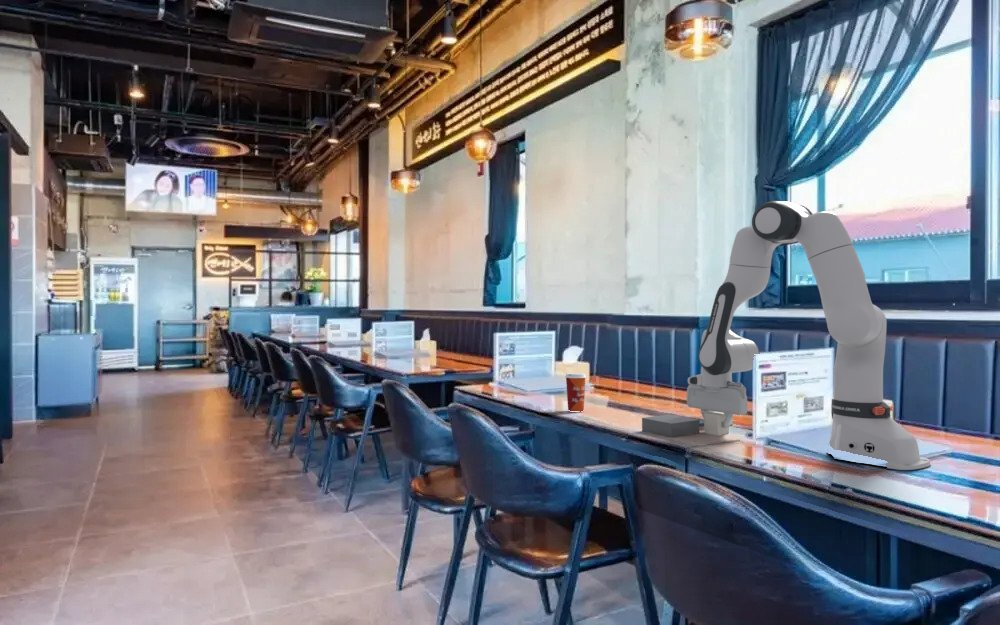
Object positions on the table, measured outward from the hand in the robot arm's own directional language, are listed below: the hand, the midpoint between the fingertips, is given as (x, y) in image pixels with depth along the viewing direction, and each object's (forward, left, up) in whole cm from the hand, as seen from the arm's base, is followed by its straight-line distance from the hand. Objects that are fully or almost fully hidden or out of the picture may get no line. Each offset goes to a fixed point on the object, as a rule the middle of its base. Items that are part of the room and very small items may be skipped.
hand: (716, 426), depth 196 cm
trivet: (+9, +10, -2) cm, 14 cm away
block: (0, 0, -2) cm, 2 cm away
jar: (+10, -13, -2) cm, 17 cm away
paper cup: (+56, +9, -2) cm, 57 cm away
